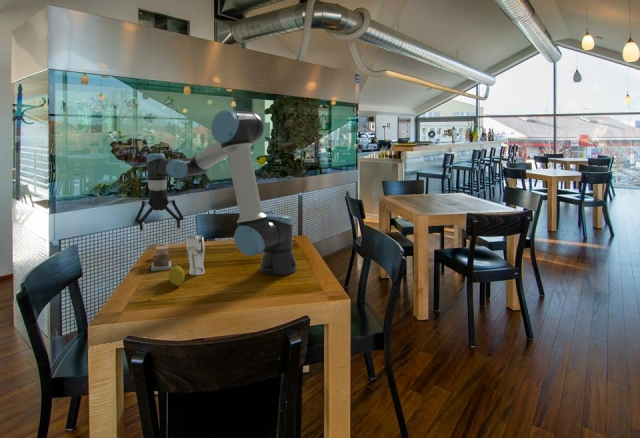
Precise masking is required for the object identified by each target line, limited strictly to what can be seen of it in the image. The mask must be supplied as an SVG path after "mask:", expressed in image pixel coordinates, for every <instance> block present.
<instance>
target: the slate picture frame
mask: <svg viewBox="0 0 640 438" xmlns="http://www.w3.org/2000/svg"><path fill="white" fill-rule="evenodd" d="M150 264H151V266H150V272H156V271H157V272H158V271H166V270H167V271H168V270H169V271H170V269H171V268H172V267H173V266H172V260H169V266H162V267H154V265H153V262H151V263H150Z"/></svg>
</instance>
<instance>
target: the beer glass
mask: <svg viewBox="0 0 640 438" xmlns="http://www.w3.org/2000/svg"><path fill="white" fill-rule="evenodd" d="M205 249H206V248H205V237H204V235H200V234H195V235H194V234H193V235H188V236H186V253H187V258H188V262H189V271H188V274H189V275H190V276H200V275H204V274H205V273H206V272H205V271H206V270H205V265H204V262H205V261H204V259H205V251H206V250H205Z"/></svg>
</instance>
